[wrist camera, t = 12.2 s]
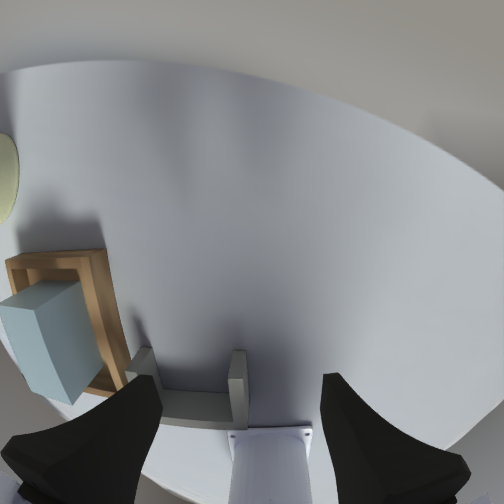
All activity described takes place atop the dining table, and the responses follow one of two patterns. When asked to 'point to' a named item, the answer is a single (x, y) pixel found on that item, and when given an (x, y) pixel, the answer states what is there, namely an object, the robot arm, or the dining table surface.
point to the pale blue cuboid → (52, 338)
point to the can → (8, 176)
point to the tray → (97, 300)
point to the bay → (200, 396)
